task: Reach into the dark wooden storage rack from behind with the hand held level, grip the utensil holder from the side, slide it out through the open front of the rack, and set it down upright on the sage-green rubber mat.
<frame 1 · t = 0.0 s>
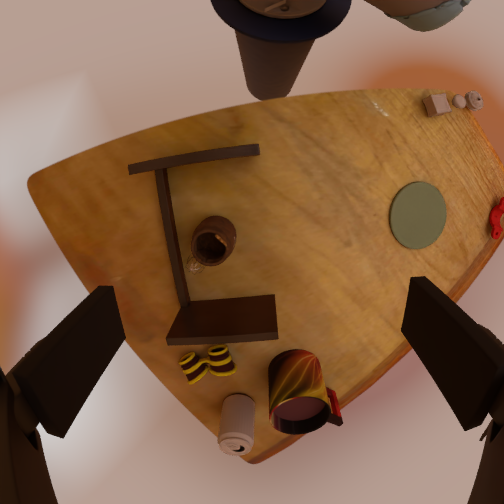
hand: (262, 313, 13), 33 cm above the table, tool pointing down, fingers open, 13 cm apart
storage rack: (217, 233, 46), on the table
mug: (305, 370, 53), on the table
toy set: (463, 100, 34), point 4 cm above the table
opera glasses: (208, 356, 53), on the table
pipe clamp: (501, 218, 41), point 2 cm above the table
rubber mat: (418, 215, 44), on the table
utensil holder: (217, 233, 46), on the table
beverage can: (239, 401, 56), on the table
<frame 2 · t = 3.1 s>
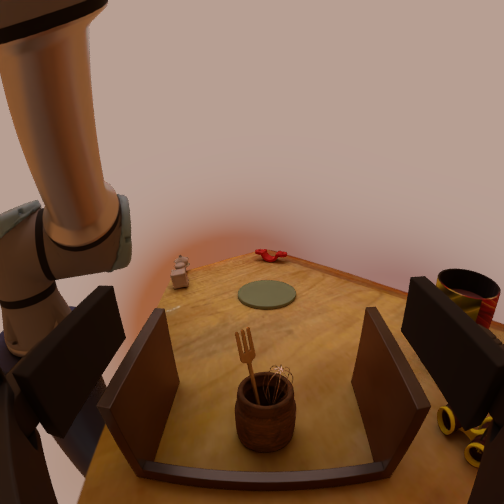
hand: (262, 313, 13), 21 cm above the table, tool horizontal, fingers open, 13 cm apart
storage rack: (264, 432, 28), on the table
mug: (444, 349, 38), on the table
toy set: (178, 261, 65), point 4 cm above the table
opera glasses: (465, 440, 22), on the table
pipe clamp: (271, 251, 75), point 2 cm above the table
rubber mat: (266, 294, 58), on the table
utensil holder: (264, 433, 28), on the table
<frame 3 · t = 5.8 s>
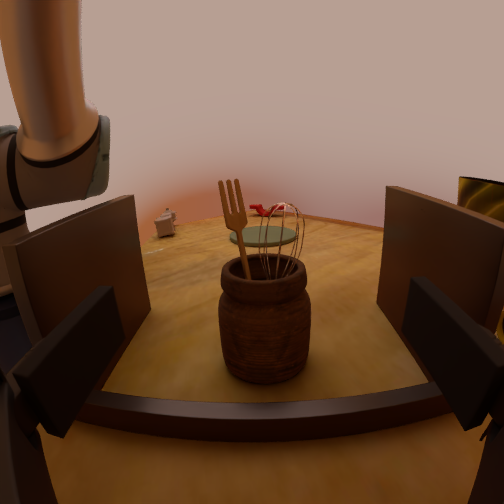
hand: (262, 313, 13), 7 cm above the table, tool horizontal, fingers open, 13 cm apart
storage rack: (264, 358, 21), on the table
mug: (475, 276, 31), on the table
toy set: (164, 211, 58), point 4 cm above the table
pipe clamp: (266, 204, 68), point 2 cm above the table
rubber mat: (263, 237, 51), on the table
utensil holder: (264, 360, 21), on the table
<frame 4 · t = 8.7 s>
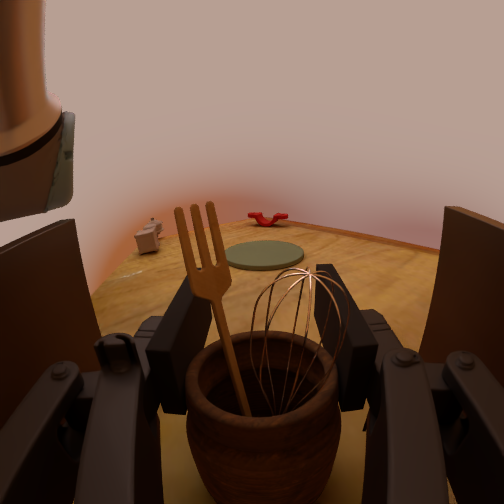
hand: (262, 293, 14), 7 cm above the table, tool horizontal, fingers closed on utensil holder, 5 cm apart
storage rack: (264, 472, 12), on the table
toy set: (148, 222, 49), point 4 cm above the table
pipe clamp: (267, 212, 59), point 2 cm above the table
rubber mat: (263, 255, 42), on the table
utensil holder: (264, 473, 12), on the table, touching gripper
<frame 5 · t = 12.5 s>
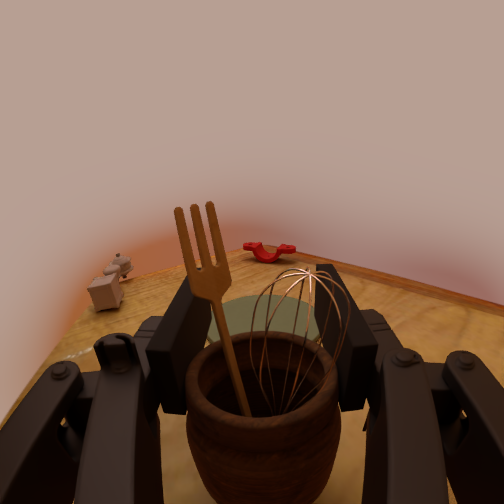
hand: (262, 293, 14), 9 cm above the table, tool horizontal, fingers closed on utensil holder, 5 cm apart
toy set: (109, 262, 36), point 4 cm above the table
pipe clamp: (268, 244, 45), point 2 cm above the table
rubber mat: (263, 325, 28), on the table
utensil holder: (264, 474, 12), point 2 cm above the table, touching gripper
when the fingers open (8 cm above the table, at t = 16.7 s): utensil holder stays where it is, resting on rubber mat.
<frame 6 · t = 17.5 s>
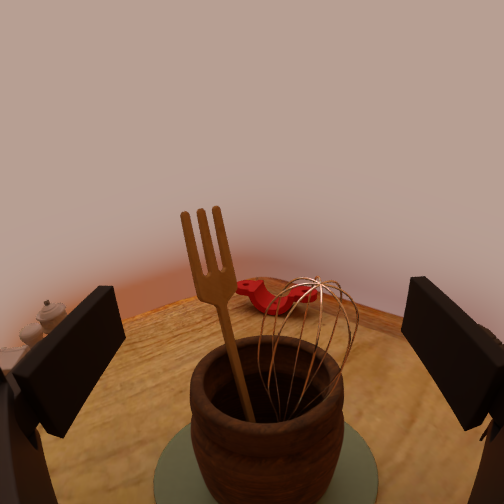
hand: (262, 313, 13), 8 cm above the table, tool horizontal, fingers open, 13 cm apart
toy set: (26, 321, 19), point 4 cm above the table
pipe clamp: (275, 285, 29), point 2 cm above the table
rubber mat: (265, 479, 12), on the table
utensil holder: (266, 476, 12), resting on rubber mat
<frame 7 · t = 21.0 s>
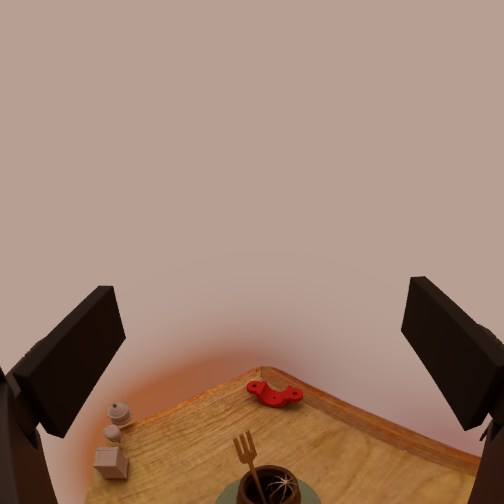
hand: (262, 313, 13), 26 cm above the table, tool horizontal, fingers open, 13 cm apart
toy set: (108, 426, 29), point 4 cm above the table
pipe clamp: (274, 388, 39), point 2 cm above the table
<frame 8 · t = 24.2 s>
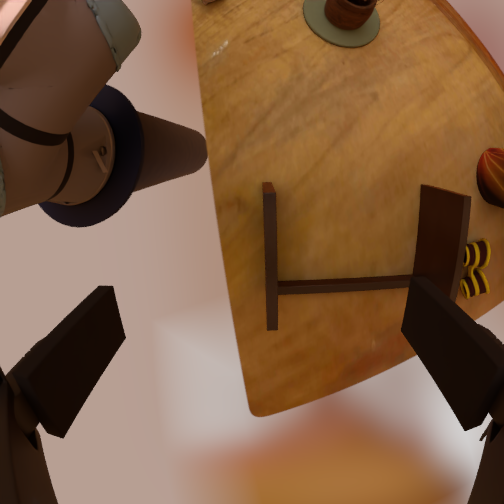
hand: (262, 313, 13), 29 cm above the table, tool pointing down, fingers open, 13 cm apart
storage rack: (350, 235, 41), on the table
mug: (497, 164, 36), on the table
opera glasses: (467, 264, 42), on the table
rubber mat: (341, 15, 31), on the table
utensil holder: (342, 14, 30), resting on rubber mat
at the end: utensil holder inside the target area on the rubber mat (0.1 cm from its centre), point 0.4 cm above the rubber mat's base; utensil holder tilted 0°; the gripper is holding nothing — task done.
